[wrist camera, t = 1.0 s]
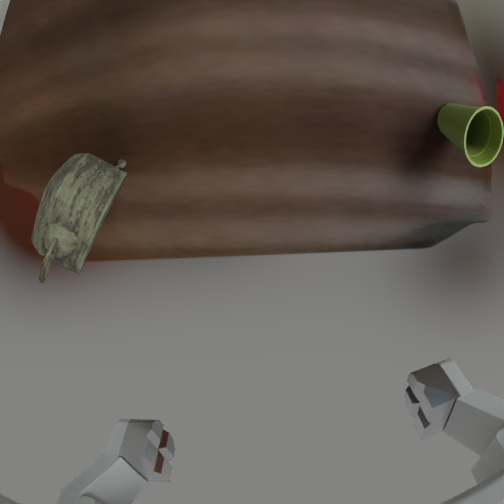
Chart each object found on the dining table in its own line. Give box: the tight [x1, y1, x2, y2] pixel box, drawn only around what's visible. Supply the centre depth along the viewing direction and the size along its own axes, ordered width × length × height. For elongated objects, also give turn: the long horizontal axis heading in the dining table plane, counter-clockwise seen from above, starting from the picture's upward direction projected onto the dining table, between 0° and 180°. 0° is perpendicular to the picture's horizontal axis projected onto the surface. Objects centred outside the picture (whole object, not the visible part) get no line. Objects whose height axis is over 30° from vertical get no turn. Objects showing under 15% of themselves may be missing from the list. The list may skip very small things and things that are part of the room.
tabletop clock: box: [32, 153, 127, 283], centre depth 39 cm, size 14×9×25 cm, turn 143°
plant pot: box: [437, 103, 504, 167], centre depth 44 cm, size 12×12×11 cm
